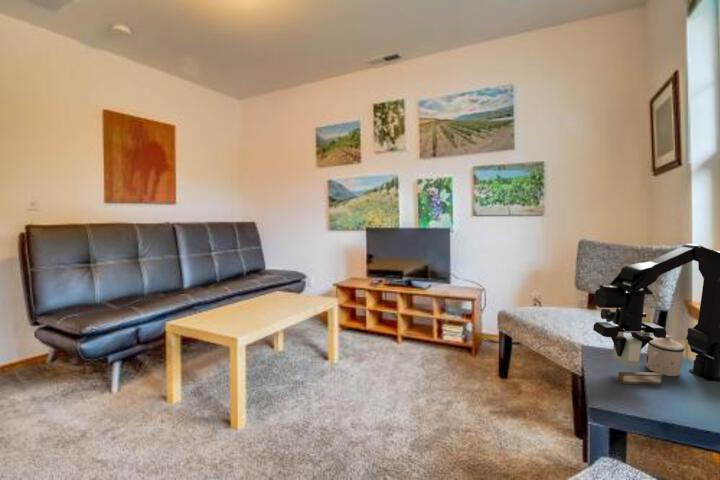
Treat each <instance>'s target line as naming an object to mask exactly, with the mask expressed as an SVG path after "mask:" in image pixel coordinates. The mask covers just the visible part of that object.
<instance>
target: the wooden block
mask: <svg viewBox="0 0 720 480" xmlns="http://www.w3.org/2000/svg"><path fill="white" fill-rule="evenodd" d="M662 381H663V375H662V374H660V373H656V372H653V371H651V372H647V371H646V372H644V371H641V372H639V371H619V372H618V376H617V382H618V383H619V384H621V385H622V384H623V385H627V384H628V385H662Z"/></svg>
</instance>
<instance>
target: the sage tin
mask: <svg viewBox="0 0 720 480" xmlns="http://www.w3.org/2000/svg"><path fill="white" fill-rule="evenodd" d="M623 337H625V338H626V343H625V346H624V350H623V353H622V355H621V357H619V356H618V355H617V353H616V349H615V346H614V345H612V346H613V347H612V357H611V358H612V359H613V360H615V361H616V362H618V363H619V364H621V365H622V366H624V367H626V368H639V367H640V361H641V354H642V349H641V346H642V342H641V341H639V340H638V339H636V338H634V337H632V335H631V334H629V333H624V334H623Z"/></svg>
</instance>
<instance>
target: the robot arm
mask: <svg viewBox="0 0 720 480" xmlns="http://www.w3.org/2000/svg"><path fill="white" fill-rule="evenodd" d="M692 261H694V262H697V264H698V271H699V273H700V274H701V276H702V278H703V283H702V291H701V298H700V305H699V306H700V307H699V312H698V319H697V320H698V321H697V323H696V324H695V325H694V326H693V327H688V328H687V335H686V338H685V340H687V345H688V346H689V349H690V352H691V353H694V354H695V358H694V360H693V367H692V368H691V369H688V371H689V372H690V373H692V374H694V375H696V376H698V377H699V378H701V379H703V380H704V381H708V382H709V381H710V382H720V251H718V250H714V249H711V248H707V247H706V246H703V245H701V244H700V245H699V244H694V243H693V244H692V243H686V244H683V245H681V246H680V247H678V248H676V249H674V250H672V251H669V252H667V253H665V254H663V255H660V256H659V257H656V258H654V259H651V260H649V261H645V262H637V263H631V264H628V265H626V266H624V267H622V268H620V272H619V273H618V275H617V276H615V278H614V279H613V280H612V281H611V283H610V284H609V285H606V284H605V285H604V284H600V285H599V287H598V289H597V290H596V291H595V292H594V294H593V301H594V304H595V305H596V307H598V308H599V309H600V308H601V310H600V318H601V319H602V320H606V322H605V321H603V322H601V321H599V322H598V321H597V322H594V324H593V326H592V327H593V329H592V330H593V331H594V332H596V333H597V334H599V335H600V336H602V337H605V338H611V340H612V342H613V346H615V349H616V353H617V355H618V356H619V357H621V355H622V353H623V350H624V346H625V343H626V338H625V337H623V334H630V336H632V337H634V338H636V339H638V340H639V341H641V342H642V346H641V350H643V348H644V347H646V345H648V342H649V341H651V340H653V338H666V335H667V331H666V329H665V327H663V326H661V325H659V324H657V323H654V322H643V318H647V313H645V312H644V308H645V301H646V300H645V299H646V295H653V294H654V292H653V291H652V290H650V288H649V286H651V285H653V284H654V283H656V282H657V281H658V279H659V277H660V276H662V275H664V274H666V273H668V272H670V271H672V270H675V269H677V268H679V267H682V266H684V265H687V264H688V263H690V262H692ZM611 309H615V311H611ZM610 322H612V323H613V324H614V325H613V324H611V323H610ZM651 334H652V335H653V336H654V337H651Z"/></svg>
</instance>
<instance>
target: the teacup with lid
mask: <svg viewBox="0 0 720 480" xmlns="http://www.w3.org/2000/svg"><path fill="white" fill-rule="evenodd" d="M652 338H653V340H651V341H649V342H648V343H647V351H646V359H645V367H646V368H647V369H648V370H649V371H651V372H656V373H660V374H662V376H668V377H677V376H680V375H681V369H682V364H683V363H682V361H683V354H684V352H685V347H684V346H683V344H681V343H680V342H677V341H676V340H674V339H672V337H671V336H670V335H669V334H666V338H656V337H652Z"/></svg>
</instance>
